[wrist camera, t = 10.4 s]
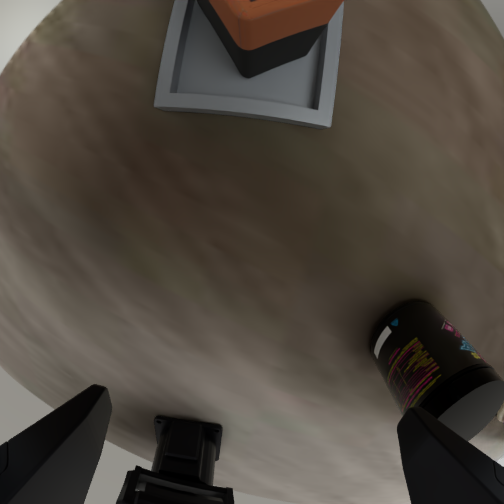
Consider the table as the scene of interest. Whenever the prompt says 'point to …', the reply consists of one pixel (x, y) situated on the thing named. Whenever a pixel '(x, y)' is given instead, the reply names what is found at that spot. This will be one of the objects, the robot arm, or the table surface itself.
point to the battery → (268, 29)
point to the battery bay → (238, 87)
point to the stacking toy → (501, 413)
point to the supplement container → (436, 369)
